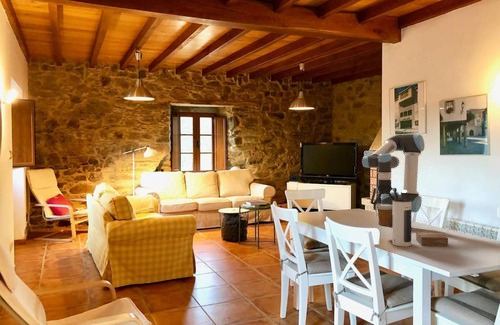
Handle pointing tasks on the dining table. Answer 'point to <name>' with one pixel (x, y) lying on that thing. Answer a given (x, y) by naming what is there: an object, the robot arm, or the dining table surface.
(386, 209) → the disposable coffee cup
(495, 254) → the dining table surface
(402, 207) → the speaker
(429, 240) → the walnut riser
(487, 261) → the dining table surface
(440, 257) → the dining table surface
